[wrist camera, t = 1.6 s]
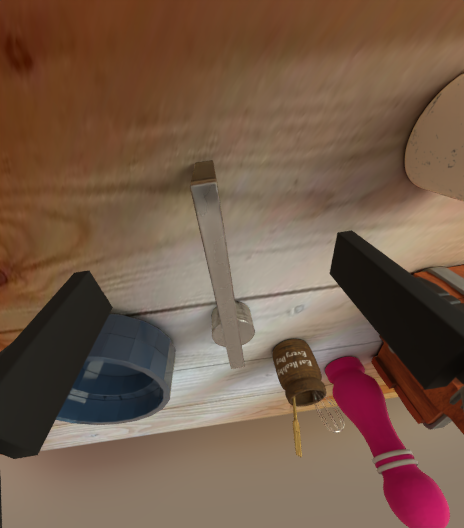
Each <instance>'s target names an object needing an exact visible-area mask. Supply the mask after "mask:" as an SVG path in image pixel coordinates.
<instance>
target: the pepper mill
mask: <svg viewBox="0 0 464 528" xmlns="http://www.w3.org/2000/svg"><path fill="white" fill-rule="evenodd" d="M364 372H365V369H364V367H363V365H362V364H361V362H360V361H359V359H358V358H356V357H342V358H339V359H336V360H334V361H332V362H331V363H330V364H328V365H327V367H326V368H325V373H326V375H327V377H328V380H329V381H330V382H331V383H332V384H334V386H333V397H334V399H335V401H336V403H337V404H338V406H339V407H340V408H341V410H342V411H343V412H344V413H345V415H346V416H347V417H348V418H349V419H350V420H351V421H352V422H353V423H354V424H355V425H356V427H357V428H358V429H359V431H360V432H361V433H362V435H363V436H364V438H365V440H366V442H367V443H368V445H369V447H370V449H371V452H372V454H373V456H374V458H373V460H372V462H373V463H374V464H375V466H376V468H377V472H378V473H379V474H382V475H383V478H384V484H383V490H384V495H385V497H386V500H387V502H388V503H389V505H390V508H391V509H392V511H393V512H394V514H395V515H396V516H397V517H398V518H399V519H400V520H401V521H402V522H403V523H404V524H405V525H406V526H408V527H409V528H445V527H446V526H447V524H448V522H449V519H450V513H449V507H448V504H447V501H446V499H445V497H444V495H443V493H442V491H441V490H440V488H439V487H438V485H437V484H436V483H435V482H434V480H433V479H431V478H430V477H429V476H428V475H426V474H425V473H423V472H422V471H421V470H420V469H419V468H418V467H417V465H418V461H417V460H415V459H414V456H413V455H412V452H411V451H410V450H408V449H406V448H405V446H404V445H403V443H402V442H401V440H400V439H399V438H398V436H397V434H396V432H395V430H394V428H393V426H392V424H391V421H390V419H389V416H388V412H387V408H386V403H385V398H384V395H383V393H382V390H381V388H380V386H379V385H378V383H377V382H376V380H375V379H374V378H372V377H371V376H369V375H367V374H364Z"/></svg>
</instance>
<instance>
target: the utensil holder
mask: <svg viewBox="0 0 464 528" xmlns="http://www.w3.org/2000/svg"><path fill="white" fill-rule="evenodd" d="M272 356H273V361H274V365H275V368H276V372H277V375H278V379H279V382H280V384H281V386H282V388H283V389H284V390H285V391H286V392H285V394H286V397H287V400H288V402H289V403H290V404H291V405H293V412H294V421H293V430H294V440H295V449H296V455H298V456H300V457H302V452H301V439H300V427H299V423H298V421H297V413H296V406H308V405H312V404H316V403H318V402H319V401H321V400H322V399H323V398H324V397H325V396H327V395H326V389H325V385H324V383H323V382H322V381H321V379H322V375H321V371H320V368H319V366H318V364H317V362H316V359H315V357H314V355H313V353H312V351H311V349H310V347H309V345H308V344H307V343H306V342H305V341H303V340H300V339H290V340H286V341H283V342H281V343H280V344H278V345H277V346H276V347H275V348H274V350H273V353H272ZM327 397H328V396H327ZM325 398H326V397H325ZM328 398H329V397H328ZM326 399H327V398H326ZM329 399H330V398H329ZM330 400H331V399H330ZM331 401H332V400H331ZM322 402H323V401H322ZM322 402H321V403H322ZM332 402H333V401H332ZM329 403H330V402H329ZM322 405H323V404H322ZM324 405H325V404H324ZM334 405H335V404H334ZM316 406H317V405H316ZM316 406H315V407H316ZM318 406H319V405H318ZM331 406H333V405H332V404H331ZM335 406H336V405H335ZM325 407H326V406H325ZM325 407H324V408H325ZM319 408H320V407H319ZM326 408H327V407H326ZM317 409H318V408H317ZM317 409H316V410H317ZM330 415H331V414H330ZM322 418H323V417H322ZM330 418H331V417H330ZM325 420H326V419H325ZM331 420H332V419H331ZM334 421H335V420H334ZM326 424H327V423H326ZM334 424H335V423H334ZM324 425H325V424H324ZM343 427H344V425H343ZM330 428H331V427H330ZM327 429H328V428H327ZM328 430H329V429H328ZM338 430H339V429H338ZM342 430H343V429H342ZM342 430H340V431H337V433H339V432H341V431H342ZM334 432H335V431H334ZM335 433H336V432H335Z"/></svg>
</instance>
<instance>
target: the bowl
mask: <svg viewBox="0 0 464 528" xmlns="http://www.w3.org/2000/svg"><path fill="white" fill-rule="evenodd" d="M175 352H176V350H175V348H174V346H173V343H172V341H171V339H170V338H169V337H168V336H166V335H165V334H164V333H163V332H162V331H161V330H160V329H159V328H157V327H155V326H153V325H151V324H149V323H147V322H145V321H143V320H140V319H136V318H132V317H128V316H124V315H120V314H109V316H108V318H107V320H106V322H105V324H104V326H103V328H102V330H101V332H100V333H99V335H98V337H97V339H96V341H95V343H94V345H93V347H92V349H91V351H90V353H89V355H88V357H87V359H86V361H85V363H84V365H83V367H82V369H81V371H80V373H79V375H78V377H77V379H76V381H75V382H74V384H73V386H72V388H71V390H70V392H69V394H68V396H67V398H66V400H65V402H64V404H63V406H62V408H61V410H60V412H59V414H58V416H57V418H56V420H60V421H65V422H70V423H77V424H91V425H107V424H120V423H126V422H132V421H137V420H140V419H143V418H146V417H149V416H152V415H153V414H155V413H157V412H158V411H160V410H162V409H163V408H164V406H165V405H166V404H167V403H168V401H169V400H170V394H171V386H172V378H173V370H174V363H175Z"/></svg>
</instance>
